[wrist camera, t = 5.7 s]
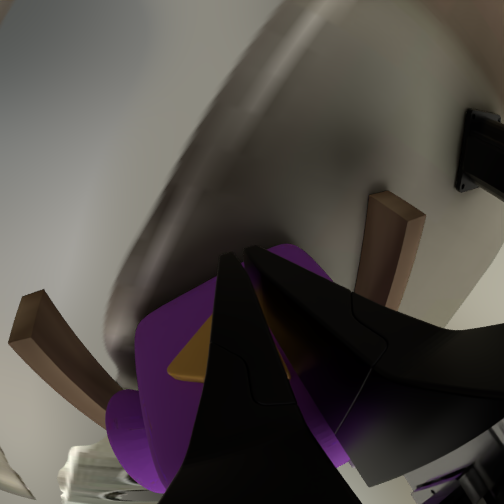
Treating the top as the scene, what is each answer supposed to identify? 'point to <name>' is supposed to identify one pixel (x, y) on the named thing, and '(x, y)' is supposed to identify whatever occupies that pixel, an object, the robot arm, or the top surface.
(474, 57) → the top surface
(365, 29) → the top surface
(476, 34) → the top surface
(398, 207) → the walnut dock
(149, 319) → the toy camera
